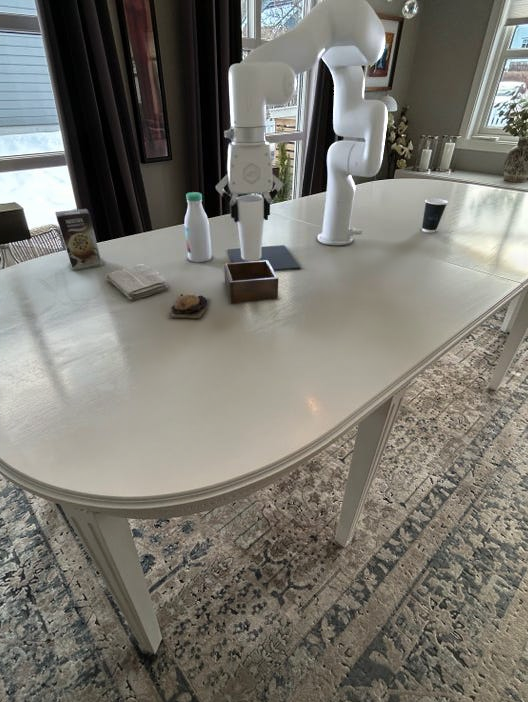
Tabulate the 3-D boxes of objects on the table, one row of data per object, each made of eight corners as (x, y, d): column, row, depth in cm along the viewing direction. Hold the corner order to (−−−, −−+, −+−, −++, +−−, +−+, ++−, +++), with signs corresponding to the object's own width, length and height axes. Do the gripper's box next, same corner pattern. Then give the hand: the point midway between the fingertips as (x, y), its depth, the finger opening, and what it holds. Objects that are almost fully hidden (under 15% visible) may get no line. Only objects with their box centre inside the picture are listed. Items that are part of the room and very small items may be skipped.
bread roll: (201, 320, 89) (200, 307, 87) (167, 318, 90) (165, 305, 88) (210, 299, 98) (209, 287, 96) (179, 298, 99) (177, 285, 96)
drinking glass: (261, 264, 94) (261, 202, 85) (235, 262, 95) (232, 201, 86) (266, 254, 99) (266, 195, 90) (241, 252, 100) (239, 194, 91)
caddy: (267, 279, 108) (267, 260, 104) (277, 299, 98) (278, 278, 94) (224, 283, 106) (223, 263, 102) (231, 303, 96) (229, 282, 92)
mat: (284, 246, 130) (284, 245, 130) (300, 268, 114) (300, 267, 114) (228, 250, 127) (227, 249, 126) (236, 274, 111) (236, 272, 111)
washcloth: (131, 302, 97) (129, 292, 95) (105, 280, 108) (103, 270, 106) (171, 290, 103) (170, 279, 101) (143, 270, 114) (141, 260, 112)
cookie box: (72, 270, 114) (55, 216, 104) (70, 263, 118) (53, 211, 108) (103, 265, 117) (89, 212, 107) (100, 258, 121) (86, 207, 112)
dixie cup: (428, 235, 140) (436, 204, 133) (413, 229, 145) (420, 199, 139) (444, 232, 142) (453, 202, 135) (428, 226, 148) (436, 197, 141)
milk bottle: (215, 255, 123) (211, 191, 111) (205, 264, 117) (199, 197, 106) (194, 253, 125) (188, 189, 113) (184, 261, 120) (175, 195, 108)
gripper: (210, 139, 76) (217, 227, 87) (291, 136, 78) (288, 221, 89) (207, 135, 82) (213, 217, 92) (282, 132, 84) (280, 212, 95)
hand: (250, 219), depth 91 cm, fingers closed on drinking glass, 6 cm apart
